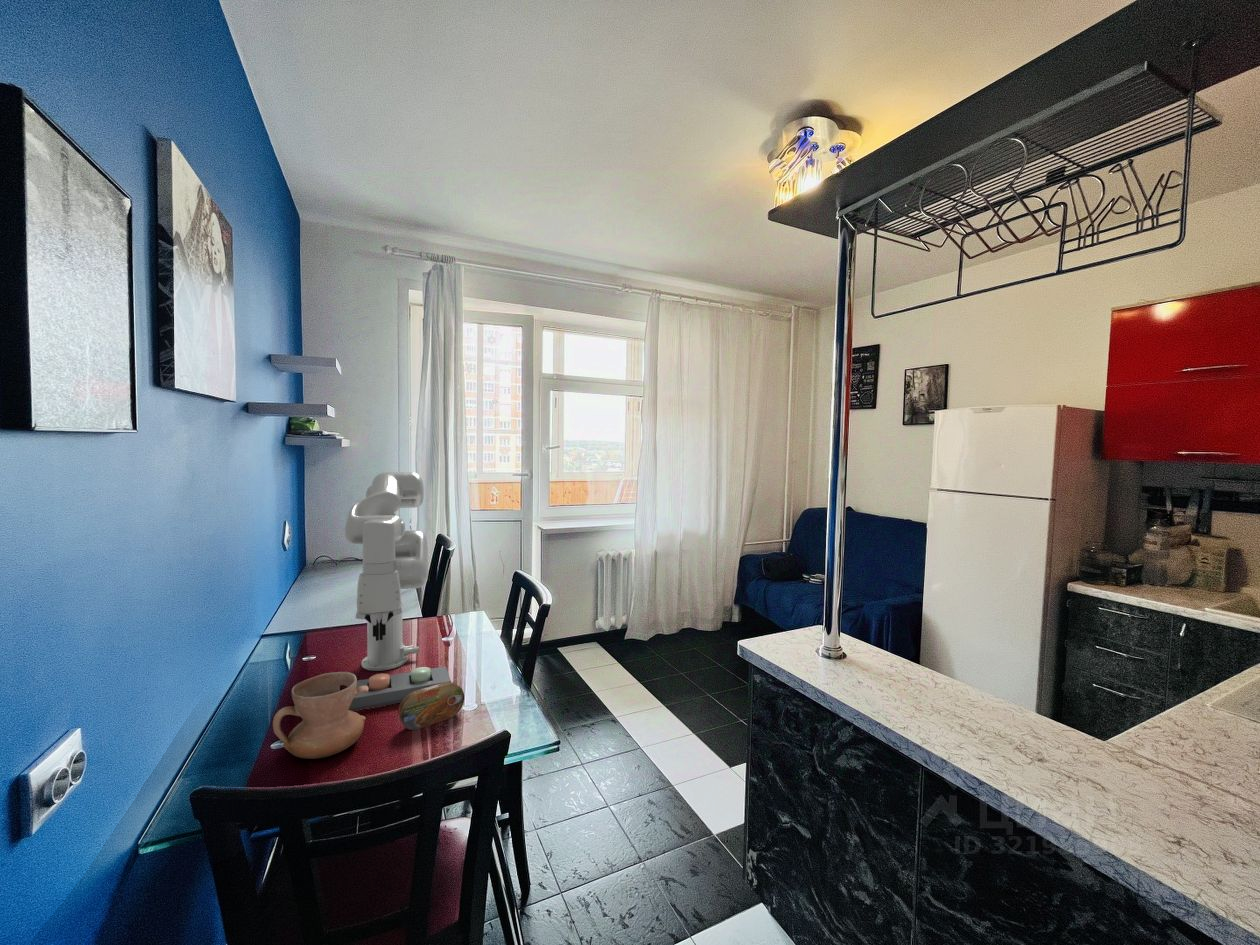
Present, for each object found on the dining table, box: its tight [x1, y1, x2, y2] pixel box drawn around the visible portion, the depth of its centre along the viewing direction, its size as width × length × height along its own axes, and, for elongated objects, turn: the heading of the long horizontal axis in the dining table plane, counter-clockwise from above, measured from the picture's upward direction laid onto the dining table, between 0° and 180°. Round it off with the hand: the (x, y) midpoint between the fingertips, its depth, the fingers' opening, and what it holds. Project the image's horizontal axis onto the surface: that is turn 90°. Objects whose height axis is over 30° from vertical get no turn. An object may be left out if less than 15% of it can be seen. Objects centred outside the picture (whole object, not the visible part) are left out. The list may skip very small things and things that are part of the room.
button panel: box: [348, 665, 452, 712], centre depth 136 cm, size 24×10×4 cm, turn 117°
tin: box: [397, 681, 465, 731], centre depth 123 cm, size 15×3×8 cm, turn 130°
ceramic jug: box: [272, 671, 369, 760], centre depth 112 cm, size 18×14×14 cm
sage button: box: [410, 666, 431, 684], centre depth 138 cm, size 5×5×3 cm
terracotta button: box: [368, 672, 390, 692], centre depth 134 cm, size 5×5×3 cm
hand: (379, 638), depth 133 cm, fingers closed
